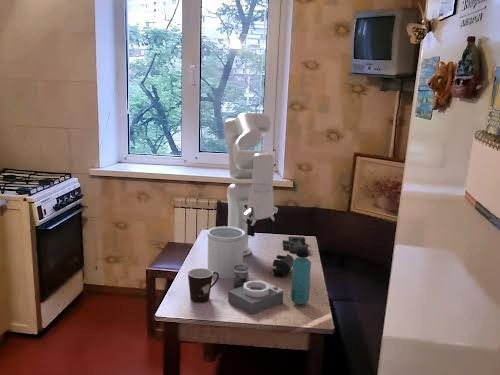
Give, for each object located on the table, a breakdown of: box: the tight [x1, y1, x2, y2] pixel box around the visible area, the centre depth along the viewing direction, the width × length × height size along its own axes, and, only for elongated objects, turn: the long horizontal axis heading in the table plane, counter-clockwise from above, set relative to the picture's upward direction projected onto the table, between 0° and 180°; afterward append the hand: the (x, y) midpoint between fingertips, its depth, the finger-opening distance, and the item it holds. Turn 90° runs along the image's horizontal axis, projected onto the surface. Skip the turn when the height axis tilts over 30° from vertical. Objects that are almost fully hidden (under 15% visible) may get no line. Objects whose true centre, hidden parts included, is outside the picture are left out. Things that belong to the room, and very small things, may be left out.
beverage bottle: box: [290, 248, 312, 305], centre depth 155 cm, size 6×7×20 cm
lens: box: [233, 264, 249, 289], centre depth 168 cm, size 5×5×8 cm
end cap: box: [272, 253, 295, 278], centre depth 184 cm, size 10×7×7 cm
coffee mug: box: [187, 267, 220, 304], centre depth 157 cm, size 12×9×10 cm
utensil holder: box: [206, 225, 245, 279], centre depth 180 cm, size 15×15×18 cm
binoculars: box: [282, 235, 309, 254], centre depth 215 cm, size 11×16×6 cm
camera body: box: [227, 278, 285, 315], centre depth 157 cm, size 12×15×6 cm
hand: (260, 233), depth 165 cm, fingers open, 9 cm apart
